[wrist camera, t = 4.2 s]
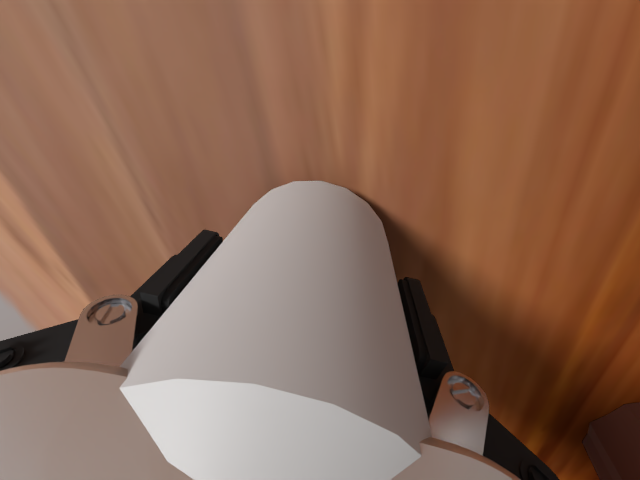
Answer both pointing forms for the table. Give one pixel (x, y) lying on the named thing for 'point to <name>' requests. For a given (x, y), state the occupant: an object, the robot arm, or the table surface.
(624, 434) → the muffin
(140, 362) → the can
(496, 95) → the table surface
